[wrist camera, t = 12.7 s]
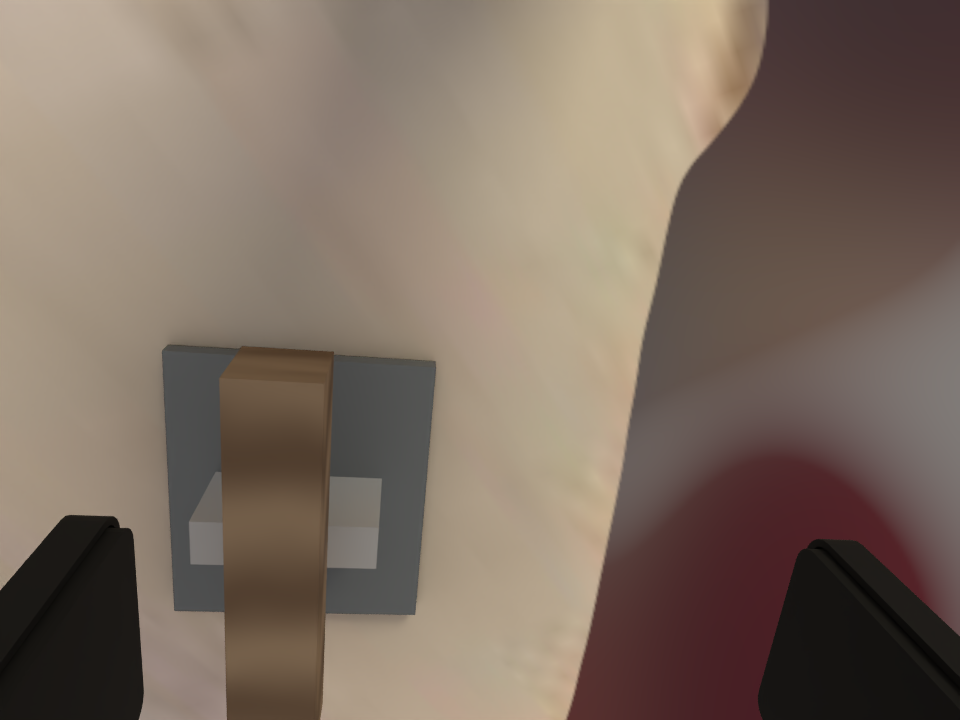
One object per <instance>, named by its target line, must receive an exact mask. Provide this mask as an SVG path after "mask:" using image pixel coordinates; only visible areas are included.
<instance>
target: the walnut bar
mask: <svg viewBox="0 0 960 720" xmlns="http://www.w3.org/2000/svg"><path fill="white" fill-rule="evenodd" d="M333 367H334V352H328V351H311V350H295V349H278V348H262V347H245V346H242V347H241V348H240V350H239V351H238V353H237V354H236V355H235V357H234V358H233V360H232V361H231V362H230V364H229V365H228V367H227V368H226V369H225V371H224V372H223V374H222V375H221V376H220V378H219V387H220V432H221V476H222V520H223V565H224V609H225V654H226V698H227V720H320V717H321V710H322V703H323V673H324V642H325V611H326V581H327V550H328V520H329V489H330V458H331V428H332V397H333Z"/></svg>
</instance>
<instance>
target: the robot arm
mask: <svg viewBox="0 0 960 720" xmlns="http://www.w3.org/2000/svg"><path fill="white" fill-rule="evenodd" d="M143 696H144V687H143V672H142V657H141V642H140V627H139V612H138V597H137V583H136V568H135V553H134V539H133V533H132V531H131V529H129V528H120V526H119V522H118V520H117V519H116V518H115V517H114V516H84V515H68V516H65V517H64V518H63V519H61V520H60V522H59V523H58V524H57V525H56V526H55V527H54V529H53V530H52V531H51V532H50V533H49V534H48V536H47V537H46V538H45V539H44V540H43V541H42V543H41V544H40V545H39V546H38V547H37V548H36V550H35V551H34V552H33V553H32V554H31V555H30V557H29V558H28V559H27V560H26V561H25V562H24V564H23V565H22V566H21V567H20V568H19V569H18V571H17V572H16V573H15V574H14V575H13V576H12V578H11V579H10V580H9V581H8V582H7V583H6V585H5V586H4V587H3V588H2V589H1V590H0V720H138V719H139V717H140V713H141V709H142V704H143ZM758 704H759V710H760V713H761V717H762V719H763V720H960V636H959V635H958V634H956V633H955V632H954V631H953V630H952V629H951V628H950V627H949V626H948V625H947V624H946V623H945V622H944V621H943V620H941V618H939V617H938V616H937V615H936V614H935V613H934V612H933V611H932V610H931V609H930V608H929V607H928V606H927V605H926V604H925V603H923V602H922V601H921V600H920V599H919V598H918V597H917V596H916V595H915V594H914V593H913V592H912V591H911V590H910V589H909V588H908V587H906V586H905V585H904V584H903V583H902V582H901V581H900V580H899V579H898V578H897V577H896V576H895V575H894V574H893V573H892V572H890V571H889V570H888V569H887V568H886V567H885V566H884V565H883V564H882V563H881V562H880V561H879V560H878V559H876V558H875V557H874V555H872V554H871V553H870V552H869V551H868V550H867V549H866V548H865V547H864V546H863V545H861V544H860V543H858V542H857V541H853V540H830V539H816V540H814V541H812V542H811V543H810V544H809V546H808V548H807V549H803V550H801V551H800V553H799V554H798V556H797V559H796V562H795V566H794V569H793V573H792V576H791V580H790V583H789V587H788V590H787V594H786V598H785V601H784V605H783V608H782V612H781V615H780V619H779V622H778V626H777V629H776V633H775V636H774V640H773V644H772V647H771V650H770V654H769V657H768V661H767V664H766V668H765V672H764V675H763V678H762V682H761V686H760V689H759V694H758Z"/></svg>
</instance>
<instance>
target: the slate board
mask: <svg viewBox="0 0 960 720" xmlns="http://www.w3.org/2000/svg"><path fill="white" fill-rule="evenodd" d="M239 350H240V349H228V348H212V347H196V346H180V345H168V346H167V347H166V348H165V349H163V350H162V359H163V380H164V402H165V423H166V444H167V465H168V486H169V507H170V528H171V549H172V570H173V591H174V611H209V612H225V609H224V565H223V520H222V476H221V432H220V387H219V378H220V376H221V375H222V374H223V372H224V371H225V369H226V368H227V367H228V365H229V364H230V362H231V361H232V360H233V358H234V357H235V355H236V354H237V353H238V351H239ZM435 373H436V363H435V361H422V360H406V359H390V358H374V357H358V356H342V355H334V367H333V397H332V428H331V458H330V489H329V520H328V550H327V581H326V611H325V613H332V614H393V615H415V610H416V599H417V587H418V575H419V563H420V551H421V539H422V527H423V516H424V504H425V492H426V480H427V468H428V456H429V444H430V432H431V421H432V409H433V397H434V385H435Z"/></svg>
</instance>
